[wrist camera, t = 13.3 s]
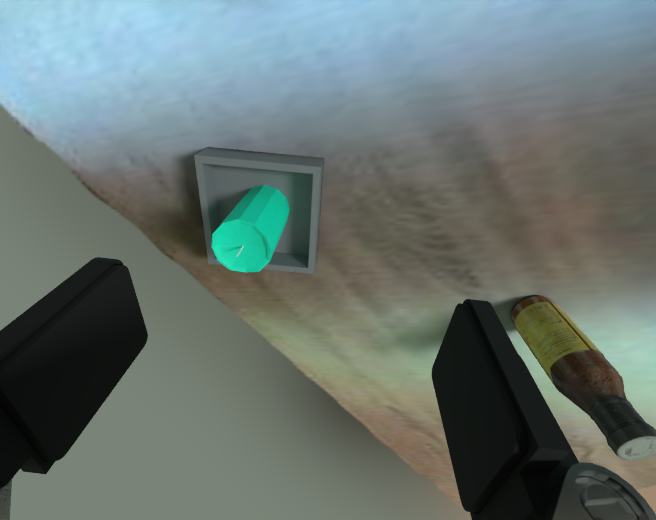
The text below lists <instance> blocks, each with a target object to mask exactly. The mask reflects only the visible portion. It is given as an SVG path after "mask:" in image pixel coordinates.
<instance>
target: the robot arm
mask: <svg viewBox="0 0 656 520" xmlns="http://www.w3.org/2000/svg"><path fill="white" fill-rule="evenodd" d="M147 337H148V334H147V330H146V327H145V323H144V320H143V316H142V313H141V310H140V307H139V303H138V300H137V296H136V293H135V289H134V287H133V283H132V279H131V276H130V273H129V270H128V268H127V267H126V266H124V265H123V263H122V262H121V261H120V260H117V259H108V258H99V257H98V258H94V259H92V260H91V261H90V262H88V263H87V264H86V265H84V266H83V267H82V268H81V269H79V270H78V271H77V272H75V273H74V274H73V275H72V276H70V277H69V278H68V279H66V280H65V281H64V282H63V283H61V284H60V285H59V286H57V287H56V288H55V289H54V290H52V291H51V292H50V293H48V294H47V295H46V296H45V297H43V298H42V299H41V300H39V301H38V302H37V303H35V304H34V305H33V306H32V307H30V308H29V309H28V310H26V311H25V312H24V313H23V314H21V315H20V316H19V317H17V318H16V319H15V320H14V321H12V322H11V323H10V324H8V325H7V326H6V327H5V328H3V329H2V330H1V331H0V520H10V506H11V486H12V478H13V477H14V475H15V474H16V473H17V472H18V470H19V469H20V468H21V469H22V470H23V471H24V472H32V473H40V474H46V473H47V472H48V471H49V469H50V468H51V466H52V465H53V464H54V462H55V461H57V460H60V459H61V458H62V457H64V456H65V454H66V453H67V452H68V451H69V449H70V448H71V446H72V445H73V444H74V442H75V441H76V440H77V438H78V437H79V436H80V434H81V433H82V431H83V430H84V429H85V427H86V426H87V424H88V423H89V422H90V420H91V419H92V418H93V416H94V415H95V413H96V412H97V411H98V409H99V408H100V407H101V405H102V404H103V402H104V401H105V400H106V398H107V397H108V396H109V394H110V393H111V391H112V390H113V389H114V387H115V386H116V384H117V383H118V382H119V380H120V379H121V378H122V376H123V375H124V373H125V372H126V371H127V369H128V368H129V367H130V365H131V364H132V362H133V361H134V360H135V358H136V357H137V356H138V354H139V353H140V351H141V350H142V349H143V347H144V346H145V344H146V341H147ZM432 380H433V385H434V389H435V393H436V397H437V402H438V406H439V410H440V414H441V418H442V423H443V427H444V431H445V435H446V440H447V444H448V448H449V452H450V457H451V461H452V465H453V469H454V474H455V478H456V482H457V486H458V491H459V495H460V499H461V503H462V506H463V508H464V509H465V511H468V512H470V514H471V517H472V520H656V515H655V513H654V511H653V510H652V508H651V507H650V506H649V504H648V503H647V501H646V500H645V499H644V498H643V497H642V496H641V495H640V494H639V493H638V492H637V490H636V489H635V488H634V487H633V486H632V485H630V484H629V483H628V482H627V481H625V480H624V479H623V478H621V477H620V476H619V475H617V474H616V473H614V472H612V471H610V470H608V469H607V468H605V467H603V466H599V465H596V464H593V463H587V462H578V460H577V458H576V456H575V454H574V452H573V451H572V449H571V447H570V445H569V443H568V442H567V440H566V438H565V436H564V434H563V432H562V431H561V429H560V427H559V425H558V423H557V421H556V420H555V418H554V416H553V414H552V412H551V410H550V409H549V407H548V405H547V403H546V401H545V400H544V398H543V396H542V394H541V392H540V390H539V389H538V387H537V385H536V383H535V381H534V379H533V378H532V376H531V374H530V372H529V370H528V368H527V367H526V365H525V363H524V361H523V360H522V358H521V357H520V356H519V355H518V353H517V351H516V350H515V348H514V346H513V344H512V342H511V340H510V338H509V337H508V335H507V333H506V331H505V329H504V327H503V326H502V324H501V322H500V320H499V318H498V316H497V314H496V313H495V311H494V309H493V307H492V305H491V304H490V303H489V302H488V301H480V300H471V299H466V300H465V301H464V302H463V304H458V305H457V306H456V308H455V311H454V313H453V316H452V319H451V321H450V324H449V326H448V329H447V331H446V334H445V336H444V339H443V342H442V344H441V347H440V349H439V352H438V354H437V357H436V359H435V362H434V365H433V368H432Z"/></svg>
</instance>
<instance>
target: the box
mask: <svg viewBox="0 0 656 520" xmlns="http://www.w3.org/2000/svg"><path fill="white" fill-rule="evenodd" d="M194 159H195V166H196V174H197V181H198V189H199V196H200V204H201V211H202V219H203V226H204V234H205V241H206V249H207V256H208V264H218V265H223V264H221V263H220V262H219V261H218V260H217V258H216V256H215V254H214V251H213V249H212V247H211V246H212V234H213V233H214V232H215V230H216V229H217V228H218V227H219V226H220V224H221V223H222V222H223V221H224V220H225V218H226V217H227V216H228V215H229V214H230V212H231V211H232V210H233V209H234V208H235V206H236V205H237V204H238V203H239V202H240V201H241V199H242V198H243V197H244V196H245V195H246V194H247V193H248V192H249V191H250V190H251V188H253V187H257V186H261V185H267V186H270V187H273V188H276V189H278V190H279V191H280V192H281V193H282V194H283V195H284V196H285V197H286V198H287V201H288V205H289V208H290V212H289V216H288V220H287V222H286V225H285V227H284V229H283V232H282V234H281V236H280V239H279V241H278V243H277V246H276V248H275V251H274V253H273V255H272V258H271V260H270V262H269V263H268V264H267V265H266V266H265V267H264V268H263V269H268V270H278V271H288V272H298V273H308V274H314V272H315V267H316V261H317V252H318V238H319V223H320V209H321V194H322V179H323V165H324V158H318V157H307V156H297V155H286V154H276V153H265V152H254V151H244V150H233V149H223V148H212V147H208V148H206V149H204V150H202V151H201V152H199V153H197V154H195V155H194Z"/></svg>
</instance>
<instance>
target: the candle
mask: <svg viewBox="0 0 656 520" xmlns="http://www.w3.org/2000/svg"><path fill="white" fill-rule="evenodd" d="M289 212H290V208H289V205H288V201H287V198H286V197H285V196H284V195H283V194H282V193H281V192H280V191H279V190H278V189H276V188H273V187H270V186H267V185H261V186H257V187H253V188H251V190H250V191H249V192H248V193H247V194H246V195H245V196H244V197H243V198H242V199H241V201H240V202H239V203H238V204H237V205H236V206H235V208H234V209H233V210H232V211H231V212H230V214H229V215H228V216H227V217H226V218H225V220H224V221H223V222H222V223H221V224H220V226H219V227H218V228H217V229H216V230H215V232H214V233H213V234H212V246H211V247H212V249H213V251H214V254H215V256H216V258H217V260H218V261H219V262H220V263H221V264H223V265H224V266H225V267H227V268H228V269H229V270H234V271H240V272H259V271H260V270H261V269H263V268H264V267H265V266H266V265H267V264H268V263H269V262H270V260H271V258H272V255H273V253H274V251H275V248H276V246H277V243H278V241H279V239H280V236H281V234H282V232H283V229H284V227H285V225H286V222H287V220H288V216H289Z"/></svg>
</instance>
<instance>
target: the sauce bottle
mask: <svg viewBox="0 0 656 520" xmlns="http://www.w3.org/2000/svg"><path fill="white" fill-rule="evenodd" d="M511 318H512V322H513V323H514V325H515V328H516V330H517V331H518V333H519V334H520V335H521V337H522V338H523V340H524V341H525V343H526V344H527V346H528V347H529V349H530V350H531V352H532V353H533V355H534V356H535V358H536V359H537V361H538V362H539V364H540V365H541V367H542V368H543V369H544V371H545V372H546V374H547V375H548V377H549V378H550V380H551V381H552V383H553V384H554V386H555V387H556V388H557V390H558V391H559V392H561V393H562V394H563V395H564V396H566V397H567V398H568V399H569V400H571V401H572V402H573V403H574V404H576V405H577V406H578V407H579V408H581V409H582V410H583V411H584V412H586V413H587V414H588V415H589V416H590V417H591V419H592V420H593V421H594V422H595V423H596V424H597V426H598V427H599V429H600V430H601V432H602V433H603V434H604V435H605V437H606V439H607V443H608V445H609V446H610V447H611V448H612V450H613V451H614V453H615V454H616V455H617V456H619V457H620V458H622V459H625V460H640V459H645V458H648V457H651V456H654V455H656V430H655V429H654V428H653V427H652V426H650V425H649V424H647V423H646V422H645V421H644V420H643V419H642V418H641V416H640V415H639V414H638V413H637V412H636V410H635V409H634V408H633V407H632V405H631V403H630V402H629V401H628V400H627V399H626V396H625V393H624V385H623V379H622V377H621V376H620V375H619V373H618V372H617V371H616V369H615V368H614V367H613V366H612V365H611V364H610V363H609V362H608V361H607V360H606V359H605V357H604V355H603V354H602V353H601V352H600V351H599V349H598V348H597V347H596V346H595V345H594V344H593V343H592V342H591V341H590V340H589V339H588V337H587V336H586V335H585V334H584V333H583V332H582V331H581V330H580V329H579V328H578V326H577V325H576V324H575V323H574V322H573V321H572V320H571V319H570V318H569V317H568V316H567V315H566V313H565V312H564V311H563V310H562V309H561V308H560V307H559V306H558V305H557V304H556V303H554V302H553V301H552V300H551V299H548V298H546V297H544V296H532V297H528V298H526V299H524V300H522V301H520V302H518V304H517V305H516V306H515V307H514V309H513V310H512V313H511Z"/></svg>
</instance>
